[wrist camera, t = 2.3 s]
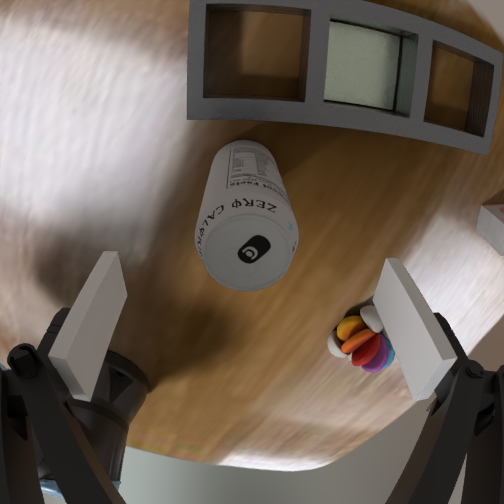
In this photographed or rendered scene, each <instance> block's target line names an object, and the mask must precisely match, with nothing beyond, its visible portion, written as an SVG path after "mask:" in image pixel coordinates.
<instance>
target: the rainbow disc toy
mask: <svg viewBox="0 0 504 504" xmlns="http://www.w3.org/2000/svg"><path fill="white" fill-rule="evenodd" d="M360 314H361V316H362V317H361V316H349V317H347V318H345V319H343V320H342V321H341V322H340V323H339V325H338V327H337V331H333V332H332V333H331V334H330V336H329V338H328V348H329V350H330V352H331V353H332V354H333V355H335V356H337V357H347V356H348V357H349V359H350V361H351V362H352V364H353V365H355V366H361V367H362V368H363V369H364V370H365V371H367V372H377V371H379V370H381V369H382V368H385V367H387V366H389V365H390V364H391V363H392V361H393V359H394V356H395V351H394V349H393V346H392V344H391V342H390V339H389V337H388V334H387V332H386V330H385V327H384V325H383V323H382V320H381V318H380V316H379V314H378V311H377V309H376V307H375V306H373V305H368V306H364V307H362V308H361V309H360Z"/></svg>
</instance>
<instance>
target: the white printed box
mask: <svg viewBox="0 0 504 504" xmlns="http://www.w3.org/2000/svg"><path fill="white" fill-rule="evenodd" d="M475 231H476V232H477V233H478V234H480V235H481V236H482V237H483V238H484V239H485V240H486V241H487V242H488V243H489V244H490V245H491V246H492V247H493V248H494V249H495V250H496V251H497V252H498V253H499V254H500V255H501V256H504V204H488V205H481V207H480V212H479V217H478V221H477V226H476V230H475Z"/></svg>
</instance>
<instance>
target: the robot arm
mask: <svg viewBox="0 0 504 504" xmlns="http://www.w3.org/2000/svg"><path fill="white" fill-rule="evenodd" d="M127 296H128V295H127V291H126V287H125V282H124V278H123V274H122V269H121V264H120V259H119V255H118V251H104V252H103V253H102V255H101V257H100V258H99V260H98V262H97V263H96V265H95V267H94V268H93V270H92V272H91V274H90V275H89V277H88V279H87V281H86V282H85V284H84V286H83V288H82V290H81V291H80V293H79V295H78V297H77V299H76V301H75V302H74V304H73V306H72V308H64V307H63V308H62V309H61V310H60V311H59V312H58V313H57V314H56V315H55V316H54V318H53V320H52V321H51V323H50V326H49V327H48V329H47V332H46V333H45V335H44V337H43V339H42V341H41V342H40V344H39V346H38V348H37V350H36V349H35V348H34V346H32V345H31V344H27V343H23V344H19V345H17V346H16V347H14V348H13V349H12V350H11V351H10V352H9V355H8V357H7V363H8V365H9V366H10V368H11V369H12V370H11V369H7V368H6V367H5V366H3V365H2V364H1V363H0V504H45V503H44V498H43V494H42V492H44V493H47V494H50V495H52V496H56V497H58V498H62V499H65V501H66V503H67V504H126V503H125V501H124V500H123V498H122V497H121V495H120V494H119V492H118V489H119V485H120V484H121V481H120V477H121V471H122V464H123V457H124V452H125V446H126V441H127V434H128V430H129V425H130V423H131V422H132V420H133V419H134V417H135V416H136V414H137V412H138V411H139V409H140V408H141V406H142V405H143V403H144V401H145V399H146V395H147V390H148V382H147V379H146V377H145V376H144V374H143V373H142V372H141V371H140V370H139V369H138V368H137V367H136V366H135V365H134V364H132V363H131V362H130V361H128V360H127V359H125V358H123V357H121V356H119V355H117V354H115V353H113V352H110V351H107V349H108V346H109V343H110V341H111V338H112V335H113V332H114V330H115V327H116V324H117V321H118V319H119V316H120V314H121V311H122V308H123V306H124V303H125V301H126V298H127ZM373 302H374V305H375V307H376V309H377V311H378V314H379V316H380V318H381V320H382V323H383V325H384V327H385V330H386V332H387V334H388V337H389V339H390V342H391V344H392V346H393V349H394V351H395V354H396V356H397V359H398V361H399V364H400V366H401V369H402V371H403V374H404V377H405V379H406V382H407V384H408V387H409V390H410V392H411V395H412V398H413V401H418V400H423V399H427V398H429V396H430V395H431V394H432V393H433V391H435V393H436V395H437V397H436V398H435V400H434V401H433V402H432V403H431V405H430V406H429V407H428V409H427V411H429V409H431V410H430V412H429V415H428V417H427V420H426V422H425V425H424V427H423V430H422V432H421V434H420V436H419V439H418V441H417V443H416V446H415V447H414V450H413V452H412V454H411V456H410V458H409V460H408V462H407V464H406V466H405V468H404V470H403V472H402V474H401V476H400V478H399V480H398V482H397V484H396V486H395V487H394V489H393V491H392V493H391V495H390V496H389V498H388V500H387V502H386V503H385V504H448V502H449V499H450V497H451V495H452V492H453V490H454V487H455V484H456V482H457V479H458V476H459V474H460V471H461V468H462V465H463V462H464V459H465V456H466V453H467V460H466V471H465V479H464V486H463V493H462V499H461V504H504V365H502V366H500V368H499V369H498V370H497V372H494V371H486V370H484V369H483V367H482V366H481V365H480V364H479V363H478V362H476V361H474V360H469V359H468V357H467V355H466V354H465V352H464V350H463V348H462V346H461V344H460V343H459V341H458V339H457V337H456V336H455V334H454V332H453V330H451V327H450V325H449V323H448V322H447V320H446V319H445V318H444V317H443V316H442V315H441V314H440V313H439V312H438V313H433V312H432V310H431V309H430V307H429V305H428V304H427V302H426V300H425V299H424V297H423V295H422V294H421V292H420V290H419V289H418V287H417V286H416V284H415V282H414V281H413V279H412V278H411V276H410V274H409V273H408V271H407V270H406V268H405V267H404V265H403V264H402V262H401V261H400V259H399V258H386V260H385V263H384V266H383V270H382V273H381V276H380V279H379V282H378V285H377V288H376V291H375V294H374V297H373Z"/></svg>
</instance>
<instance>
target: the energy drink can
mask: <svg viewBox="0 0 504 504" xmlns="http://www.w3.org/2000/svg"><path fill="white" fill-rule="evenodd" d="M298 240H299V231H298V226H297V223H296V219H295V216H294V213H293V210H292V208H291V205H290V202H289V199H288V196H287V193H286V190H285V187H284V184H283V182H282V179H281V176H280V173H279V170H278V167H277V165H276V162H275V159H274V157H273V156H272V154H271V153H270V151H269V150H268V149H267V148H265V147H264V146H263V145H261V144H259V143H257V142H254V141H250V140H238V141H234V142H231V143H229V144H227V145H225V146H224V147H223V148H221V149H220V150H219V151H218V153H217V154H216V155H215V157H214V159H213V162H212V165H211V169H210V173H209V177H208V181H207V184H206V188H205V192H204V196H203V200H202V204H201V208H200V212H199V216H198V221H197V225H196V229H195V245H196V249H197V252H198V254H199V256H200V258H201V259H202V261H203V262H204V266H205V268H206V270H207V272H208V273H209V274H210V276H211V277H212V278H213V279H214V280H216V281H217V282H218V283H220V284H221V285H223V286H225V287H227V288H230V289H233V290H238V291H257V290H260V289H264V288H266V287H269V286H271V285H273V284H274V283H276V282H277V281H279V280H280V279H281V278H282V277H283V276H284V275H285V273H286V272H287V270H288V269H289V266H290V264H291V261H292V257H293V256H294V254H295V251H296V249H297V246H298Z"/></svg>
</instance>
